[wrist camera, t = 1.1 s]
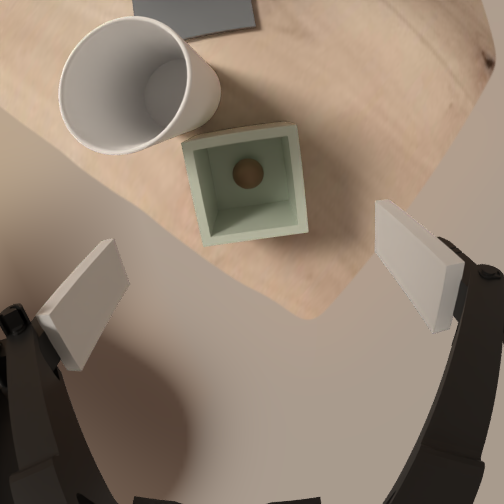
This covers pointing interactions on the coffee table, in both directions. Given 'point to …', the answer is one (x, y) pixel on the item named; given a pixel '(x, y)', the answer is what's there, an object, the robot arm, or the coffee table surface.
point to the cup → (135, 87)
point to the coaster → (198, 15)
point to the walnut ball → (248, 173)
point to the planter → (247, 200)
